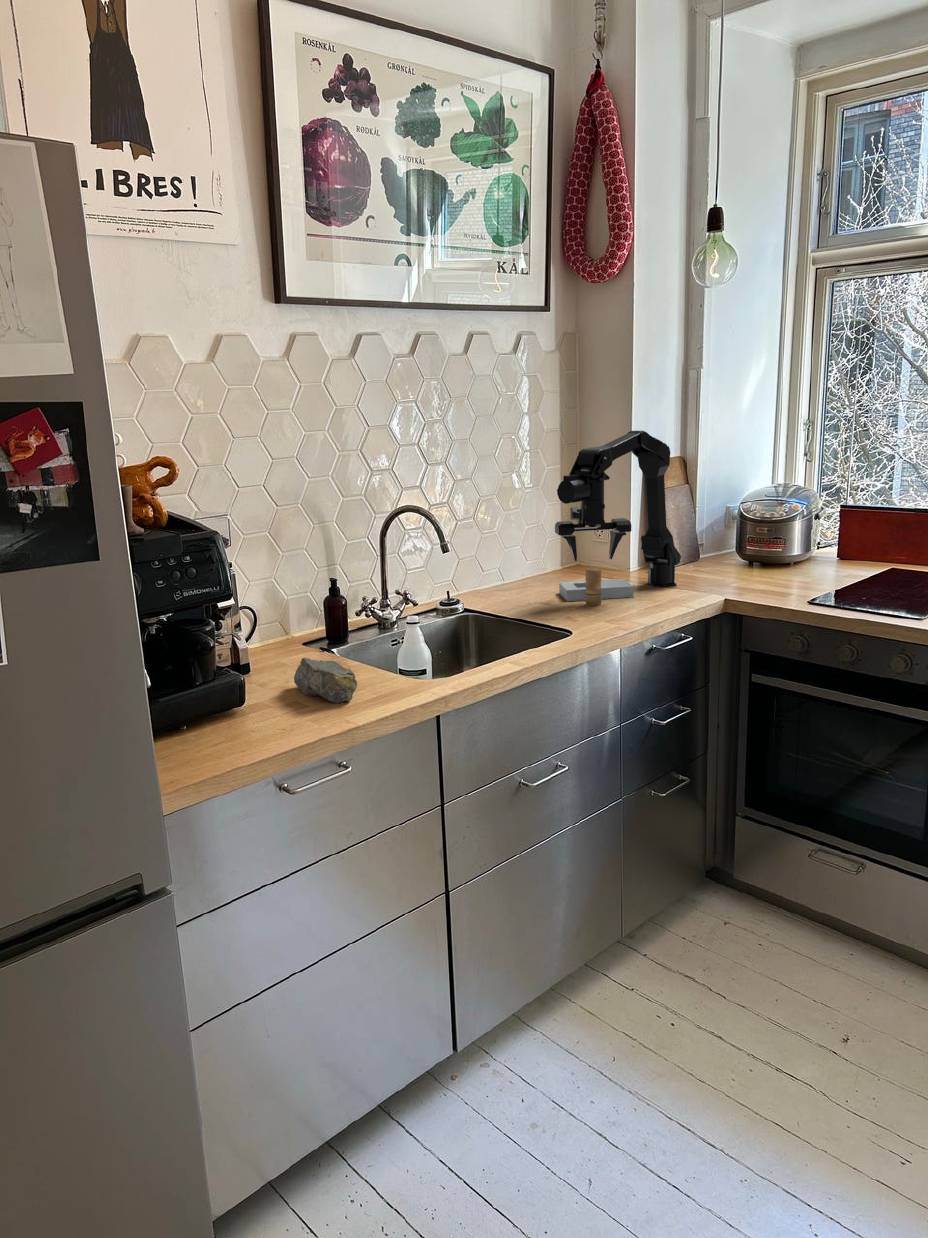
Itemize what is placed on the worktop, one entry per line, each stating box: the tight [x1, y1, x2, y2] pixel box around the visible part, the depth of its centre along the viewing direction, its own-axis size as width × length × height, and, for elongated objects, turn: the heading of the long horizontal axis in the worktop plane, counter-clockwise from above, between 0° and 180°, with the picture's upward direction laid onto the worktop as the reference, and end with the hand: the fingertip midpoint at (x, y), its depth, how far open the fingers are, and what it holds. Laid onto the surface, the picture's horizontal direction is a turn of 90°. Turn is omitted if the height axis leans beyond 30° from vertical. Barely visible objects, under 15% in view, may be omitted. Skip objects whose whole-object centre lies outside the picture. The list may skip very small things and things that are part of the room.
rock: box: [293, 657, 358, 704], centre depth 169 cm, size 17×7×10 cm
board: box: [558, 578, 634, 602], centre depth 241 cm, size 18×10×3 cm, turn 95°
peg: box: [585, 568, 602, 607], centre depth 230 cm, size 4×4×9 cm
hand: (593, 560), depth 228 cm, fingers open, 9 cm apart
